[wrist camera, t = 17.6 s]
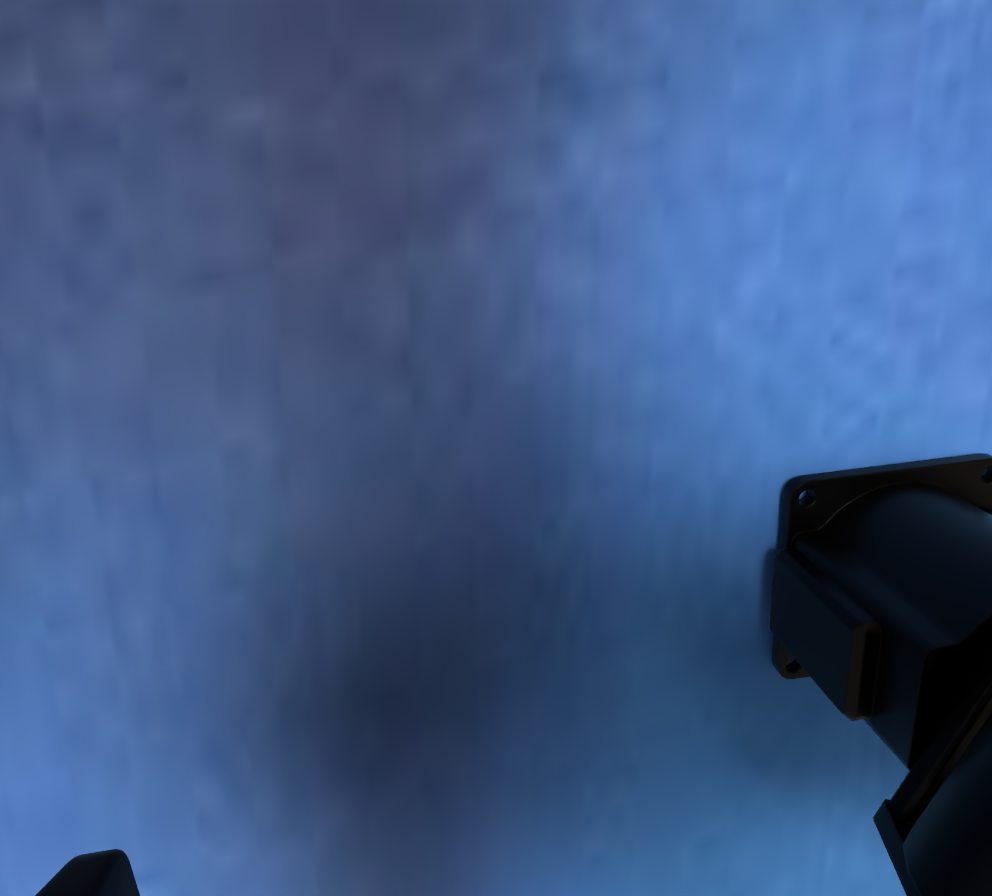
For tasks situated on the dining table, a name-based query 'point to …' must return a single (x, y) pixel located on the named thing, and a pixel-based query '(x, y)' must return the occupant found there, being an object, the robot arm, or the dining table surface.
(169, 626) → the dining table surface
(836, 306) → the dining table surface
